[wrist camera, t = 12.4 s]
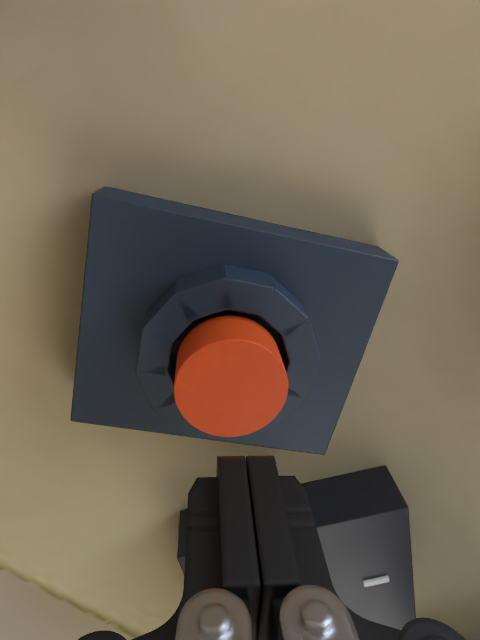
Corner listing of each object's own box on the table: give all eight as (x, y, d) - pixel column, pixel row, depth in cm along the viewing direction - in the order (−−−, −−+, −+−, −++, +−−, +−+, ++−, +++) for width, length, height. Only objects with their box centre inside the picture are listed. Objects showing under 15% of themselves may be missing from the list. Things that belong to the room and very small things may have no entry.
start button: (291, 325, 16) (302, 350, 15) (265, 411, 18) (272, 444, 16) (186, 306, 16) (184, 329, 14) (168, 397, 17) (164, 429, 15)
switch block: (379, 246, 19) (420, 274, 16) (314, 427, 23) (335, 483, 19) (104, 185, 17) (78, 201, 14) (82, 393, 21) (57, 449, 18)
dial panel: (385, 464, 25) (410, 509, 22) (396, 578, 29) (417, 629, 26) (179, 510, 25) (176, 560, 22) (219, 616, 29) (221, 671, 26)
